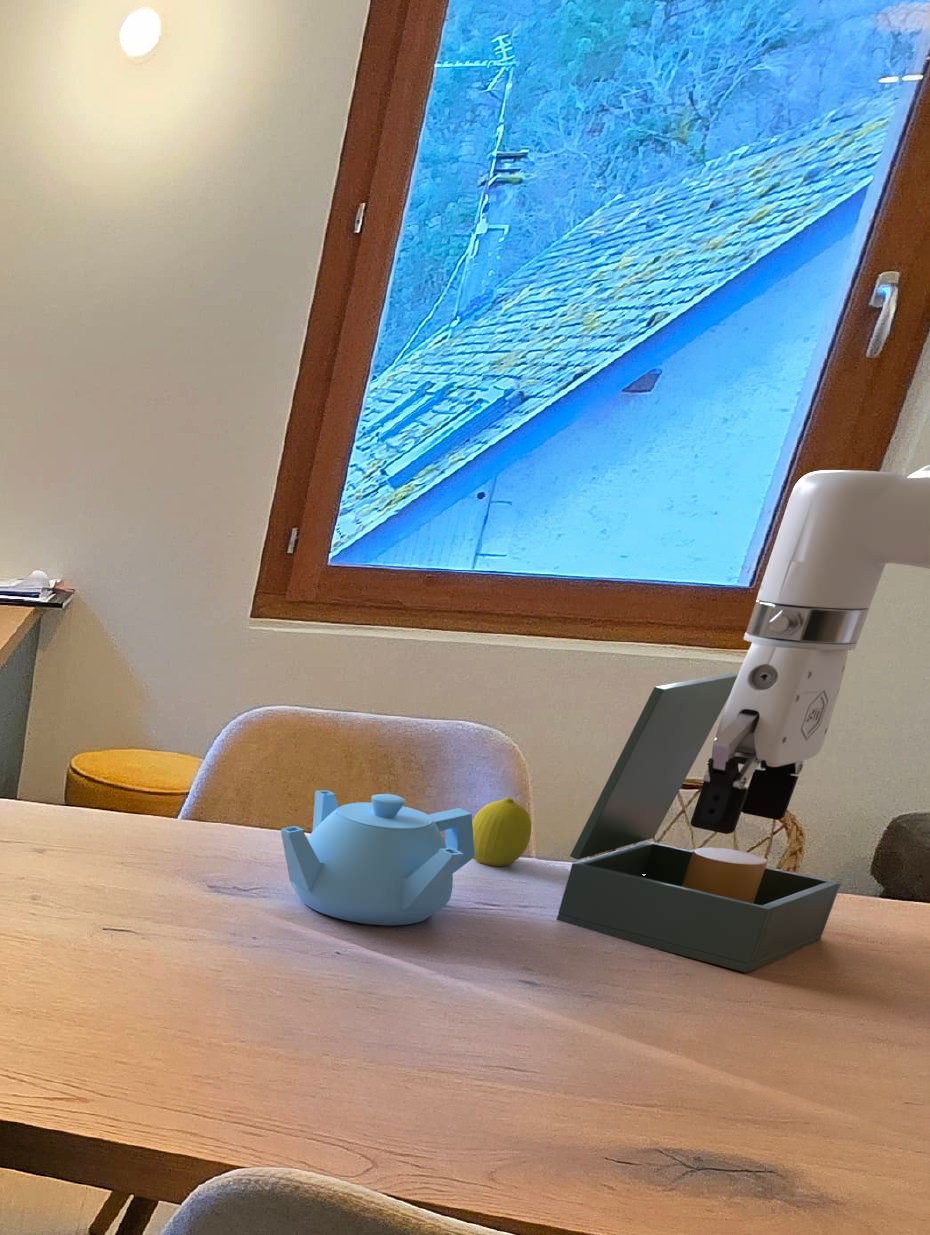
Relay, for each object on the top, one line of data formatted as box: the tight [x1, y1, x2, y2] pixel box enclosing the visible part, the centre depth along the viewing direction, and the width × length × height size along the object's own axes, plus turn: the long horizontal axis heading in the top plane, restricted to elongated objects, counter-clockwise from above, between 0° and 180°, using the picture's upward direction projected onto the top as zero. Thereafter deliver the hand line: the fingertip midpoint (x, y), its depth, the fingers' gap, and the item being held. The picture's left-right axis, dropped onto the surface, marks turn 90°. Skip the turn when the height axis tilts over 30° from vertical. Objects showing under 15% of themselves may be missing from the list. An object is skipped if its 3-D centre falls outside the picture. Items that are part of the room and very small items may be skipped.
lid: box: [569, 672, 738, 861], centre depth 131 cm, size 16×15×1 cm
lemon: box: [472, 796, 532, 867], centre depth 147 cm, size 6×6×8 cm
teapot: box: [280, 789, 475, 926], centre depth 135 cm, size 15×15×11 cm
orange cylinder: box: [682, 846, 768, 903], centre depth 128 cm, size 5×5×7 cm
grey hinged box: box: [556, 840, 842, 974], centre depth 130 cm, size 16×15×6 cm
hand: (736, 822), depth 126 cm, fingers open, 9 cm apart
